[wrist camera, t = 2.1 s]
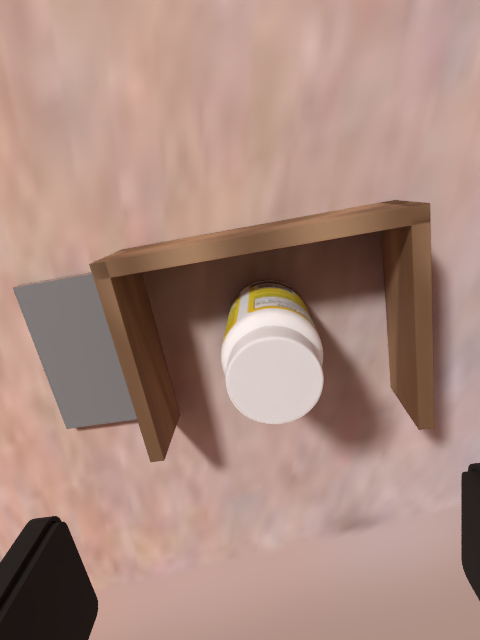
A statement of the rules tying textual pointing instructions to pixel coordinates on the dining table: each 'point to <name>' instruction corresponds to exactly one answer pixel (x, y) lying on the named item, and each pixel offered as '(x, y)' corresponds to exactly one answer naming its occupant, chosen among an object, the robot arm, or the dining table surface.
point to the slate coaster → (76, 350)
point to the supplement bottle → (272, 354)
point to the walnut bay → (388, 217)
